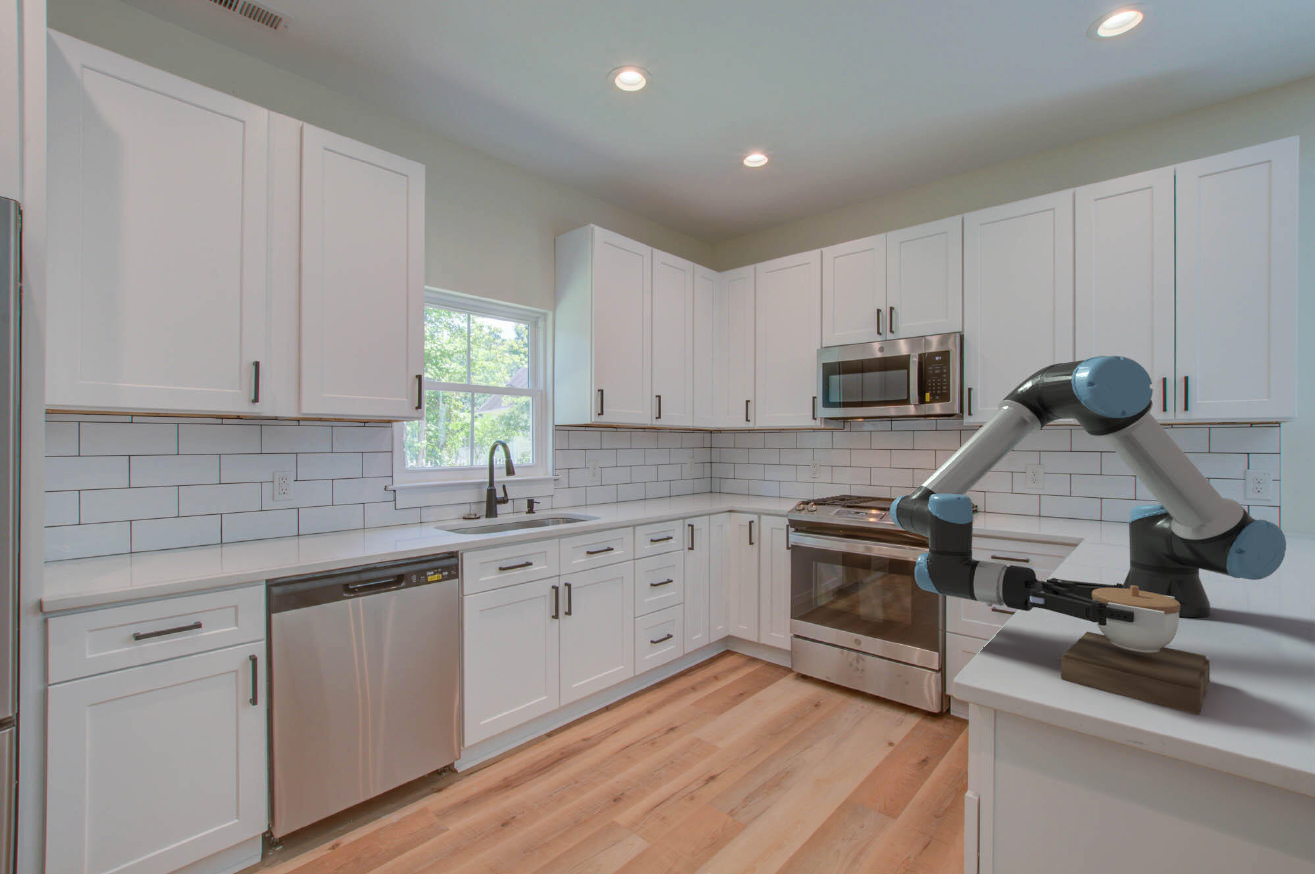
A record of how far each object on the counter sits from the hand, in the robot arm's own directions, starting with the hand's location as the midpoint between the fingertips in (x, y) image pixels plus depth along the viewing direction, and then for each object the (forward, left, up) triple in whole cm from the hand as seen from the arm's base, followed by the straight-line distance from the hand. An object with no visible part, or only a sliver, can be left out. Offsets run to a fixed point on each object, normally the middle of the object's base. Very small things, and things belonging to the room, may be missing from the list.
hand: (1169, 613), depth 88 cm
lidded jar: (+2, -4, -6) cm, 7 cm away
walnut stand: (+2, -4, -11) cm, 12 cm away
